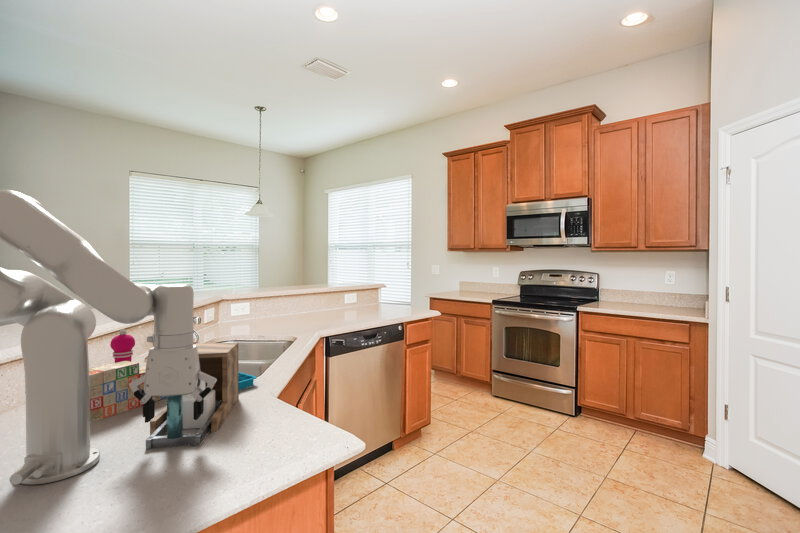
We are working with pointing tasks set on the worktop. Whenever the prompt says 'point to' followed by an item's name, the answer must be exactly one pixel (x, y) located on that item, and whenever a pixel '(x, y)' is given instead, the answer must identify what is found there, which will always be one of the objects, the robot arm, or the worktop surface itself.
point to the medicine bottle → (189, 409)
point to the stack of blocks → (114, 389)
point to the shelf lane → (223, 367)
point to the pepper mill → (122, 346)
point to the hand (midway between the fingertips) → (173, 418)
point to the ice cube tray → (245, 380)
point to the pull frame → (177, 427)
